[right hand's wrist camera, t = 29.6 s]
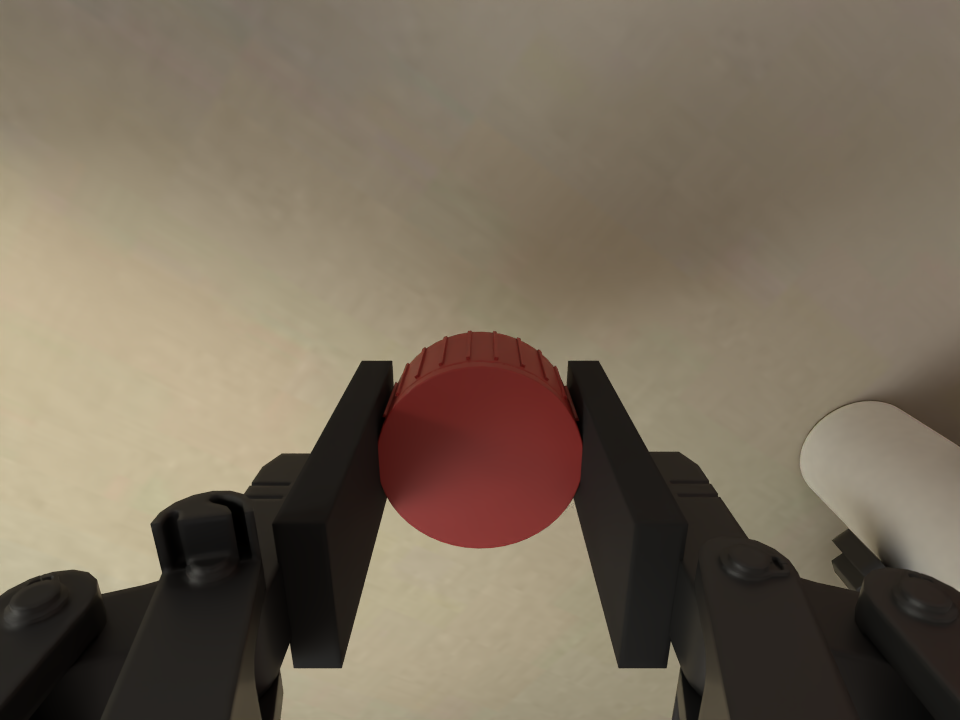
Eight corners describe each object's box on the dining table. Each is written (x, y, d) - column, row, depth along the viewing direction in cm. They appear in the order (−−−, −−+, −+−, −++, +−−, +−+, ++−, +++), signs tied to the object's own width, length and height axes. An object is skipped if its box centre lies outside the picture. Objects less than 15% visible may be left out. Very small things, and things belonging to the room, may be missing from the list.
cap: (353, 412, 14) (329, 460, 12) (483, 290, 13) (483, 319, 11) (478, 520, 16) (477, 583, 13) (607, 416, 14) (630, 466, 12)
